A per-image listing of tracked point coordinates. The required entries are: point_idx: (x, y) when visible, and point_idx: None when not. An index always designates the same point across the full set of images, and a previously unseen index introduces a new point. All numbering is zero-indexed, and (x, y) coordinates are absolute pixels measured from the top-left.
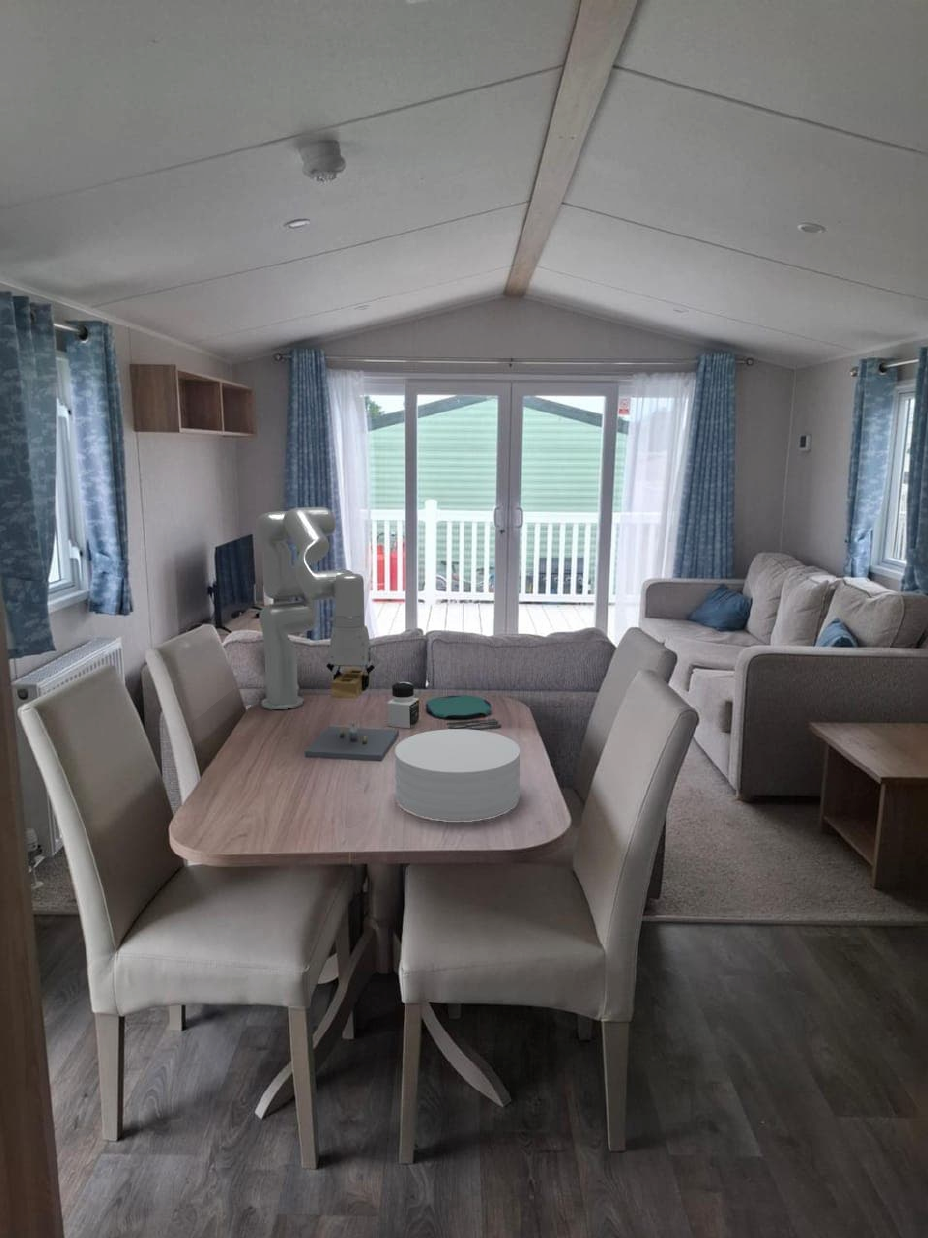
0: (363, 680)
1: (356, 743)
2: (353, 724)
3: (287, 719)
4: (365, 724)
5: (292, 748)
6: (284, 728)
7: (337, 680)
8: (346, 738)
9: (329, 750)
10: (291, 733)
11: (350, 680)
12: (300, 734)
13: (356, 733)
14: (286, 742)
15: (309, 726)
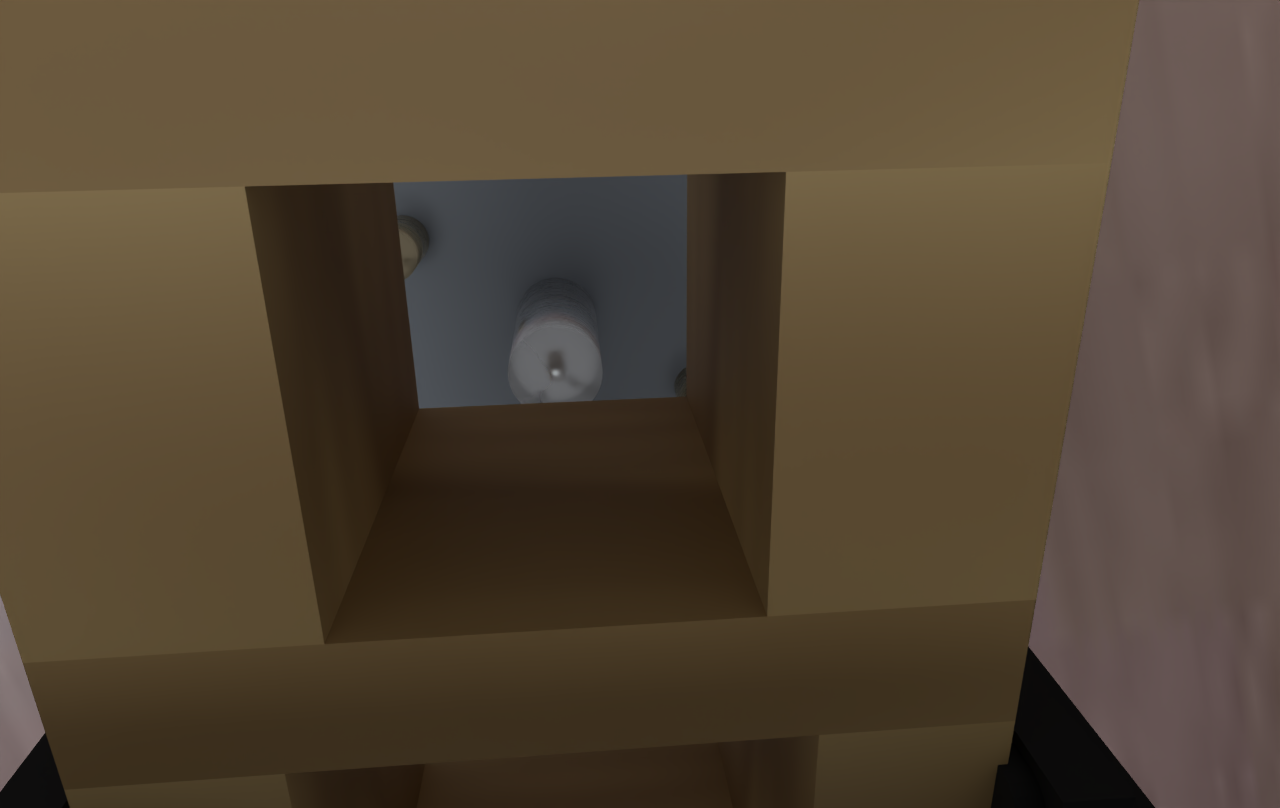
0: (44, 753)
1: (493, 228)
2: (545, 358)
3: (1267, 771)
4: None
5: (1122, 117)
6: (1265, 590)
7: (919, 295)
8: (644, 352)
9: None
10: (1191, 494)
11: (458, 596)
12: (1111, 486)
13: (515, 328)
14: (1203, 269)
15: (1070, 671)
